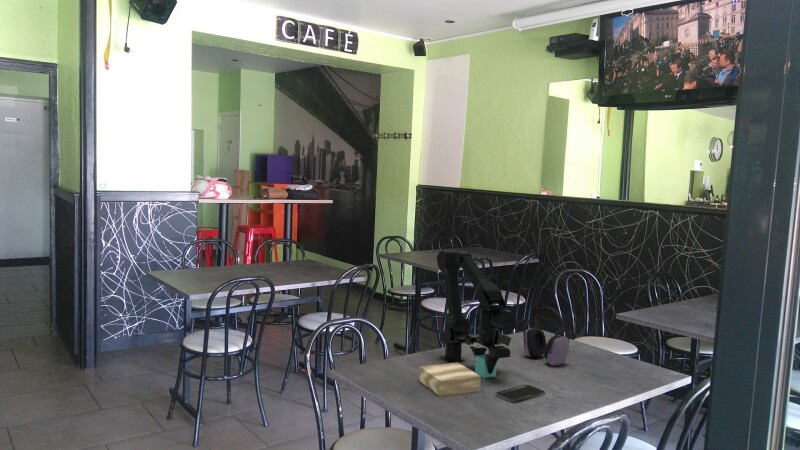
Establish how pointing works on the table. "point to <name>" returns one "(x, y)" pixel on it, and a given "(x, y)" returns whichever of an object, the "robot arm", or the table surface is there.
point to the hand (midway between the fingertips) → (485, 371)
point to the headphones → (537, 344)
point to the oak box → (449, 379)
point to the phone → (520, 393)
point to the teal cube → (483, 367)
